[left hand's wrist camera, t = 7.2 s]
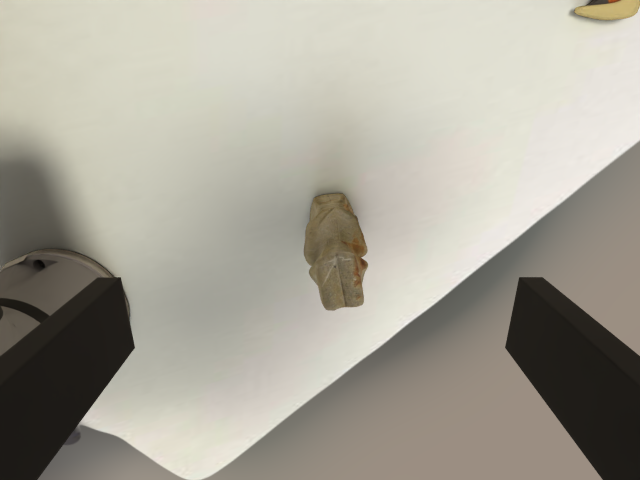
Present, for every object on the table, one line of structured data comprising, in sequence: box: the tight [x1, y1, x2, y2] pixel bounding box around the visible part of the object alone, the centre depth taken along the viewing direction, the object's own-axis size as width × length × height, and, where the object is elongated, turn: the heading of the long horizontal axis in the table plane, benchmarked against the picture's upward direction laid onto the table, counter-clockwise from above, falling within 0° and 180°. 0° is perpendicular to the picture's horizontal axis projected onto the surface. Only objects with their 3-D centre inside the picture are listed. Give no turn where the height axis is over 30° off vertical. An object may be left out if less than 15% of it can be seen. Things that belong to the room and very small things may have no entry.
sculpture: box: [304, 193, 368, 310], centre depth 37 cm, size 6×7×15 cm
